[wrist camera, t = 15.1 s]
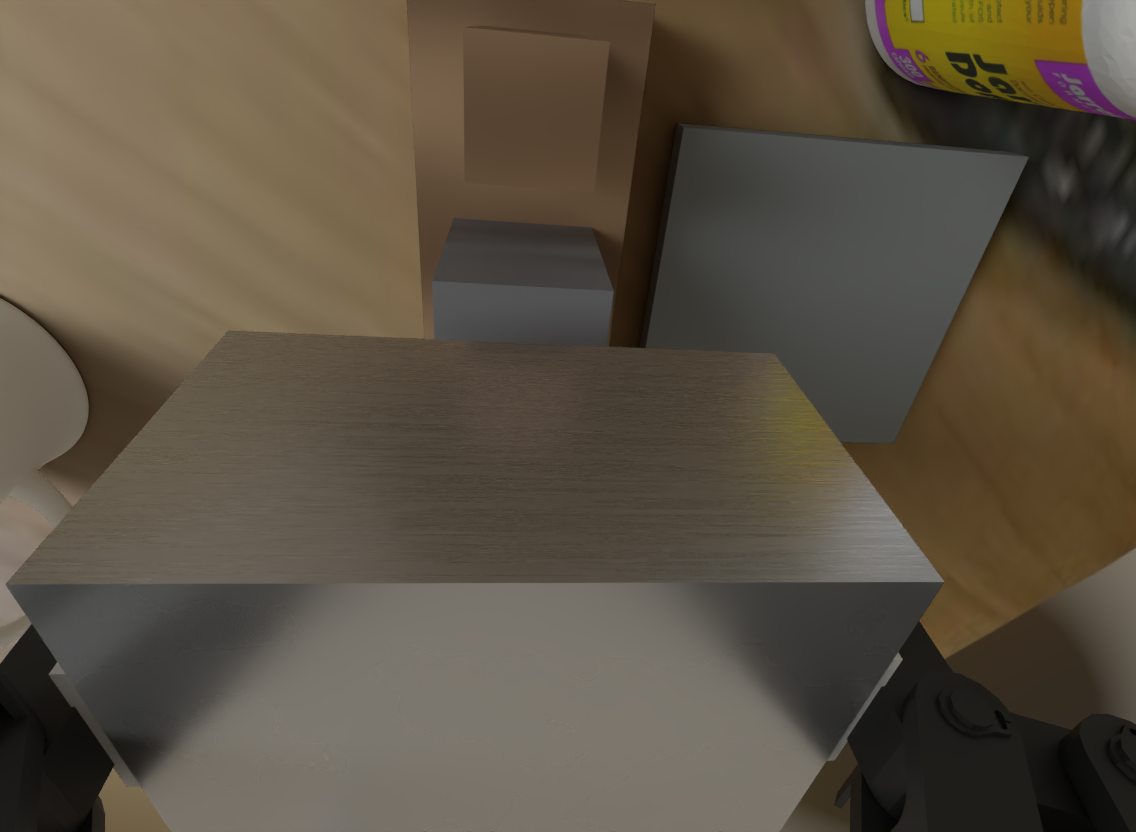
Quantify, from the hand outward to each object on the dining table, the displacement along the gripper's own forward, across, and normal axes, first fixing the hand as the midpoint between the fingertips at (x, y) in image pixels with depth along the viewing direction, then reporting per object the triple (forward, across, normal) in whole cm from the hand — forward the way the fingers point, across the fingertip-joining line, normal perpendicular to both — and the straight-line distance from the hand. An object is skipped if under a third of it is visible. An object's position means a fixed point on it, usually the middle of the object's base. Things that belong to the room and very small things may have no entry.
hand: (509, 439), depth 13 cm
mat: (+10, +11, -1) cm, 15 cm away
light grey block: (-2, 0, 0) cm, 2 cm away
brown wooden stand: (+10, 0, -5) cm, 11 cm away
